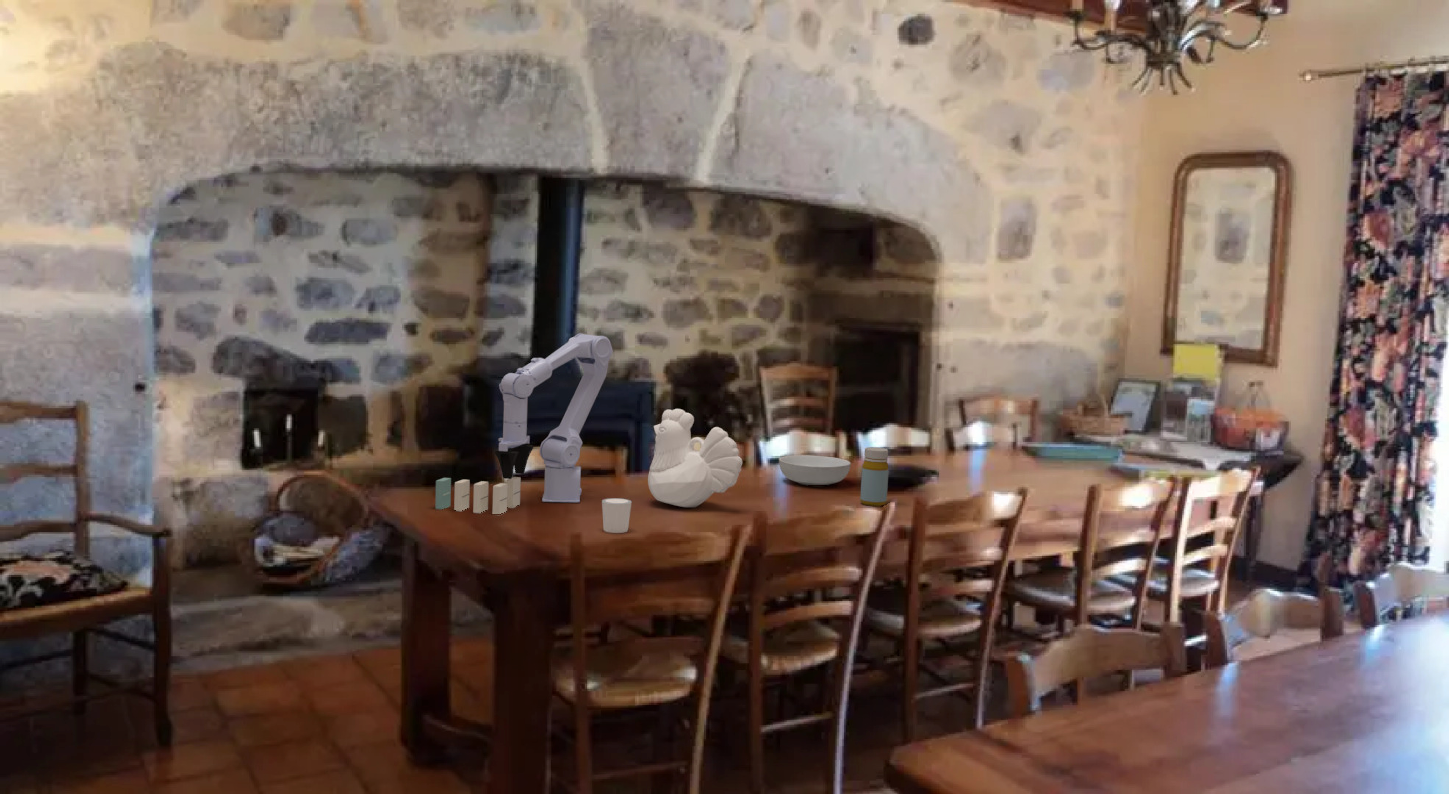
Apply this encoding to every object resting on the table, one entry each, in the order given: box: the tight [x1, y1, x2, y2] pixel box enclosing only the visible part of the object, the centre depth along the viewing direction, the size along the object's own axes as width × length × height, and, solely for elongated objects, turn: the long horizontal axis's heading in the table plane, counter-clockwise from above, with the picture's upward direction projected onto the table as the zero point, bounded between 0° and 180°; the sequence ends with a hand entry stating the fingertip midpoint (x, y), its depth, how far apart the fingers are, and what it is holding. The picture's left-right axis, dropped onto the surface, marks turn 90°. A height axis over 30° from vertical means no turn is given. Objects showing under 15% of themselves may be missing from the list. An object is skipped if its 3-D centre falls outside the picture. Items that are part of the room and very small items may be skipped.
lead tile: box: [506, 476, 522, 509], centre depth 297 cm, size 2×4×7 cm, turn 167°
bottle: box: [860, 446, 889, 507], centre depth 320 cm, size 7×7×15 cm
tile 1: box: [434, 477, 452, 510], centre depth 292 cm, size 2×4×7 cm, turn 167°
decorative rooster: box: [647, 408, 743, 508], centre depth 305 cm, size 25×16×25 cm, turn 54°
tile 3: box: [472, 480, 489, 514], centre depth 290 cm, size 2×4×7 cm, turn 167°
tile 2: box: [453, 479, 471, 512], centre depth 291 cm, size 2×4×7 cm, turn 167°
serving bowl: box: [778, 454, 852, 486], centre depth 347 cm, size 21×21×7 cm
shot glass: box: [601, 497, 632, 534], centre depth 277 cm, size 7×7×7 cm
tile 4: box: [491, 482, 508, 515], centre depth 289 cm, size 2×4×7 cm, turn 166°
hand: (513, 475), depth 297 cm, fingers open, 7 cm apart
